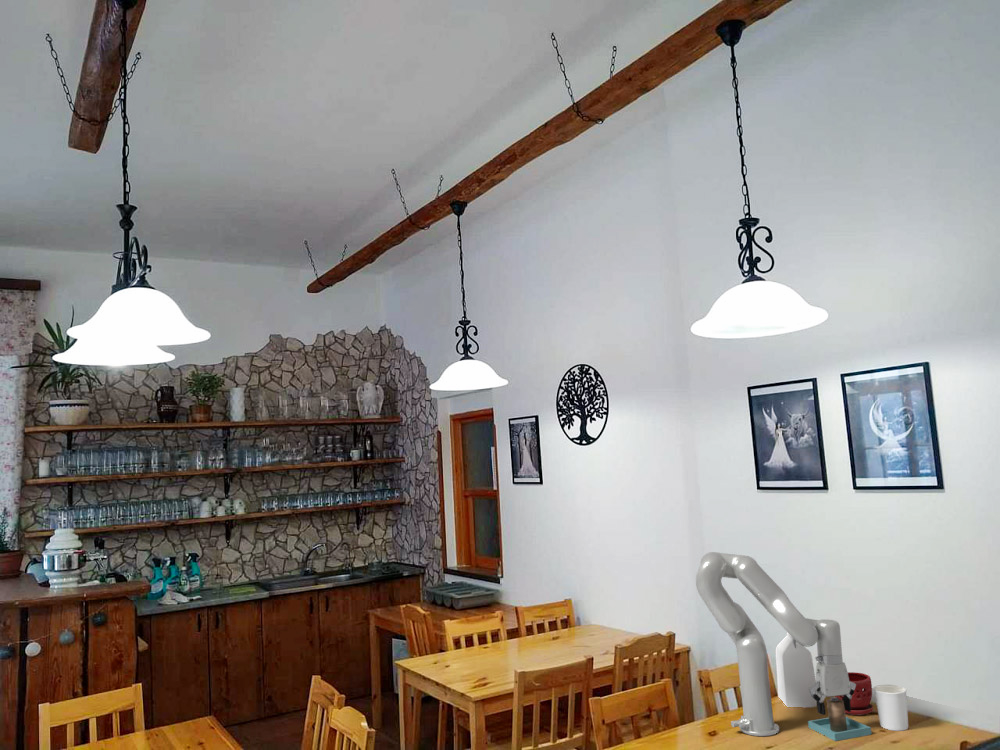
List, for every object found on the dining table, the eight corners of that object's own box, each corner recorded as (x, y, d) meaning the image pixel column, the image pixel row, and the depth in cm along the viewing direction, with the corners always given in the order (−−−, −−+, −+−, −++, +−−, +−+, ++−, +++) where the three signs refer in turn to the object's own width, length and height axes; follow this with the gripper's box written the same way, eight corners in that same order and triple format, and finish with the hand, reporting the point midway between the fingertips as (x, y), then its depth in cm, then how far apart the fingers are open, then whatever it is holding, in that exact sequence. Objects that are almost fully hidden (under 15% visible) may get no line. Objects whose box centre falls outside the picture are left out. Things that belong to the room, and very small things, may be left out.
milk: (778, 698, 293) (770, 627, 296) (809, 696, 292) (801, 625, 295) (786, 708, 281) (778, 634, 284) (819, 706, 280) (811, 632, 283)
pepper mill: (837, 733, 252) (833, 701, 253) (827, 728, 257) (822, 697, 258) (851, 730, 253) (846, 699, 255) (840, 725, 258) (836, 695, 260)
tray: (835, 741, 247) (834, 733, 247) (808, 728, 260) (807, 721, 260) (871, 734, 250) (870, 727, 251) (843, 721, 263) (842, 715, 264)
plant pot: (866, 704, 279) (862, 670, 280) (881, 716, 266) (876, 680, 267) (829, 706, 280) (825, 671, 281) (841, 718, 267) (837, 682, 268)
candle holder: (880, 720, 263) (876, 683, 264) (913, 723, 257) (908, 686, 258) (875, 729, 255) (870, 691, 256) (908, 733, 249) (903, 694, 250)
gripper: (814, 664, 252) (818, 719, 250) (860, 659, 256) (864, 712, 255) (800, 658, 259) (804, 711, 257) (844, 653, 264) (849, 706, 262)
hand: (834, 712), depth 256 cm, fingers open, 9 cm apart
